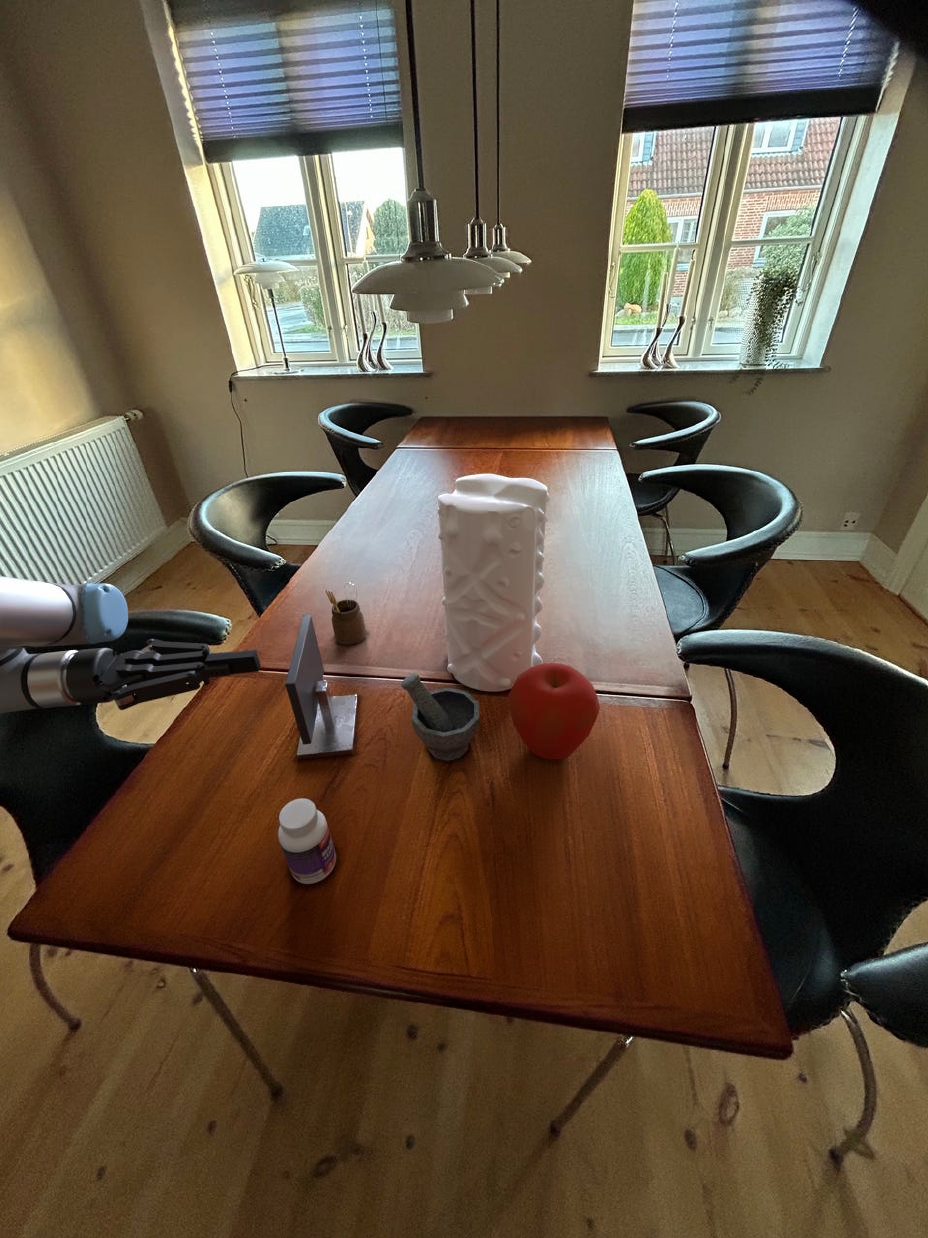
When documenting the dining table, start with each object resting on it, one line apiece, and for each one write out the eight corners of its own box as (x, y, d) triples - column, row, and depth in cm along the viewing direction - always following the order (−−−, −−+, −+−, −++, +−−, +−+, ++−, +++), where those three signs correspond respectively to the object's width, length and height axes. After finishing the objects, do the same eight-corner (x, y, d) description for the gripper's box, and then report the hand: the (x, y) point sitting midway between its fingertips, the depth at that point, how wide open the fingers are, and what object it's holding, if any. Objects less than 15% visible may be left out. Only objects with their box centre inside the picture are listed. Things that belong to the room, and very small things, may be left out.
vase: (428, 679, 91) (412, 502, 73) (468, 628, 103) (462, 466, 85) (522, 705, 85) (529, 520, 67) (552, 649, 97) (564, 478, 79)
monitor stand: (297, 759, 77) (284, 717, 72) (308, 703, 87) (297, 663, 82) (352, 754, 78) (343, 711, 73) (357, 698, 88) (349, 658, 83)
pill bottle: (338, 878, 62) (323, 827, 57) (291, 891, 61) (271, 841, 55) (334, 838, 66) (320, 787, 61) (290, 850, 65) (272, 799, 60)
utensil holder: (372, 632, 103) (364, 579, 97) (351, 650, 99) (341, 595, 92) (349, 624, 106) (339, 572, 99) (327, 641, 101) (315, 587, 95)
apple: (491, 746, 78) (490, 673, 70) (542, 705, 85) (546, 634, 77) (558, 795, 71) (566, 718, 63) (608, 746, 77) (621, 671, 69)
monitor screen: (301, 744, 73) (284, 684, 67) (316, 671, 86) (302, 615, 80) (311, 744, 73) (294, 683, 67) (324, 670, 86) (311, 614, 80)
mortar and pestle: (489, 729, 81) (488, 668, 74) (470, 776, 74) (467, 713, 67) (421, 714, 84) (414, 654, 77) (396, 758, 77) (386, 696, 70)
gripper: (112, 668, 80) (272, 653, 82) (69, 731, 69) (254, 712, 71) (91, 628, 76) (260, 613, 77) (41, 688, 65) (238, 669, 67)
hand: (257, 660), depth 74 cm, fingers closed
